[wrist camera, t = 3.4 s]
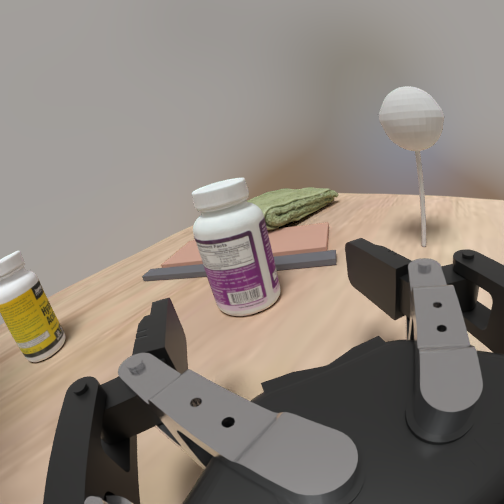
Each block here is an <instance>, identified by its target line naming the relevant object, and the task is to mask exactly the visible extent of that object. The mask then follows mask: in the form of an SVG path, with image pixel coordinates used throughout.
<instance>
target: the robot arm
mask: <svg viewBox="0 0 504 504" xmlns="http://www.w3.org/2000/svg"><path fill="white" fill-rule="evenodd" d="M345 252H346V261H347V271H348V277H349V280H350V283H351V284H352V286H353V287H354V288H356V289H357V290H358V291H359V292H361V293H362V294H363V295H364V296H366V297H367V298H368V299H369V300H371V301H372V302H373V303H374V304H375V305H377V306H378V307H379V308H380V309H381V310H383V311H384V312H385V313H386V314H388V315H389V316H390V317H391V318H392V319H394V320H397V319H399V318H401V317H403V316H405V315H406V340H396V341H390V342H385V341H384V340H383V339H381V338H380V337H379V336H377V337H375V338H373V339H371V340H369V341H367V342H364V343H362V344H360V345H358V346H356V347H353V348H352V349H351V350H349V351H348V352H346V353H345V354H343V355H342V356H341V357H339V358H338V359H336V360H335V361H333V362H332V363H330V364H329V365H326V366H323V367H318V368H313V369H308V370H302V371H297V372H292V373H289V374H286V375H283V376H281V377H278V378H275V379H272V380H269V381H266V382H263V383H261V385H262V388H263V391H264V392H263V393H262V394H260V395H258V396H257V397H255V398H254V399H252V400H251V401H248V400H246V399H244V398H242V397H240V396H238V395H236V394H234V393H232V392H230V391H228V390H227V389H225V388H223V387H221V386H219V385H217V384H215V383H213V382H212V381H210V380H208V379H206V378H204V377H202V376H201V375H199V374H197V373H195V372H194V371H192V370H189V369H188V362H187V345H186V337H185V334H184V331H183V328H182V325H181V323H180V321H179V318H178V316H177V314H176V311H175V309H174V306H173V304H172V301H171V300H170V298H166V299H162V300H159V301H156V302H153V303H152V308H151V313H150V315H148V316H144V318H143V319H142V320H141V322H140V323H139V325H138V329H137V334H136V339H135V344H134V348H133V354H132V356H130V357H129V358H127V359H126V360H125V361H124V362H123V363H122V364H121V365H120V367H119V369H118V375H119V377H117V378H115V379H113V380H111V381H109V382H106V383H104V384H102V385H100V384H99V382H98V381H97V380H96V379H95V378H94V377H83V378H81V379H78V380H77V381H75V382H74V383H73V384H72V385H71V386H70V387H69V388H68V390H67V392H66V395H65V398H64V402H63V405H62V409H61V413H60V416H59V420H58V424H57V428H56V433H55V437H54V441H53V446H52V451H51V456H50V461H49V467H48V472H47V479H46V485H45V493H44V501H43V504H140V497H139V484H138V466H137V434H139V433H141V432H143V431H145V430H148V429H150V428H152V427H154V426H155V427H156V428H157V429H158V430H159V431H160V432H162V433H163V434H164V435H165V436H166V437H167V438H168V439H170V440H171V441H172V442H173V443H174V444H175V445H177V446H178V447H179V448H180V449H181V450H183V451H184V452H185V453H186V454H187V455H188V456H190V457H191V458H192V459H193V460H194V461H195V462H196V463H197V464H198V465H199V466H200V467H201V468H203V469H204V471H203V473H202V475H201V476H200V478H199V479H198V481H197V482H196V484H195V486H194V487H193V489H192V490H191V492H190V493H189V495H188V496H187V498H186V499H185V501H184V502H183V504H504V265H502V264H500V263H498V262H496V261H494V260H492V259H490V258H488V257H486V256H484V255H482V254H480V253H478V252H476V251H473V250H459V251H457V252H455V253H454V255H453V264H450V265H446V266H442V267H441V265H440V264H439V263H438V262H437V261H435V260H432V259H416V260H414V261H411V260H409V259H407V258H405V257H403V256H401V255H399V254H397V253H395V252H393V251H391V250H390V249H388V248H386V247H384V246H379V245H375V244H373V243H371V242H369V241H367V240H365V239H363V238H359V239H356V240H353V241H350V242H347V243H346V245H345ZM479 287H481V288H483V289H484V290H486V291H487V292H489V293H490V295H491V296H492V299H493V304H492V309H491V310H490V309H488V308H487V307H485V306H484V305H482V304H481V303H479V302H478V301H477V296H478V290H479ZM467 331H468V332H469V333H471V334H472V335H473V336H474V337H475V338H477V339H478V340H479V341H480V342H482V343H483V344H484V345H485V346H486V347H488V348H489V349H490V350H491V351H492V352H493V353H491V352H484V351H476V349H475V347H474V346H471V345H470V342H469V338H468V334H467Z"/></svg>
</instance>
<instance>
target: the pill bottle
mask: <svg viewBox="0 0 504 504" xmlns="http://www.w3.org/2000/svg"><path fill="white" fill-rule="evenodd" d="M248 193H249V192H248V188H247V185H246V181H245V179H244V178H234V179H228V180H224V181H220V182H216V183H213V184H210V185H207V186H204V187H201V188H199V189H197V190H195V191H193V192H192V198H193V202H194V207H195V208H196V209H197V211H198V212H201V216H199V217H198V219H197V220H196V221H195V223H194V226H193V233H194V238H195V241H196V243H197V246H198V250H199V253H200V256H201V259H202V262H203V265H204V269H205V272H206V275H207V278H208V281H209V284H210V286H211V289H212V292H213V295H214V297H215V300H216V303H217V305H218V307H219V309H220V310H221V311H223V312H224V313H226V314H228V315H232V316H246V315H251V314H255V313H257V312H260V311H262V310H264V309H266V308H268V307H270V306H271V305H272V304H274V303H275V302H276V300H277V299H278V297H279V295H280V284H279V279H278V275H277V270H276V266H275V261H274V257H273V253H272V249H271V244H270V240H269V236H268V231H267V227H266V223H265V218H264V215H263V212H262V211H261V209H260V208H259V207H258V206H257V205H255V204H253V203H250V202H247V200H246V199H247V198H248Z"/></svg>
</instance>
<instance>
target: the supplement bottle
mask: <svg viewBox="0 0 504 504" xmlns="http://www.w3.org/2000/svg"><path fill="white" fill-rule="evenodd" d="M24 265H25V263H24V259H23V257H22V254H21V252H20V251H16V252H14V253H12V254H10V255H8V256H6V257H4V258H2V259H0V313H1V315H2V317H3V319H4V321H5V323H6V325H7V327H8V329H9V330H10V332H11V334H12V336H13V338H14V339H15V341H16V343H17V345H18V346H19V348H20V350H21V351H22V353H23V354H24V356H25V357H26V359H27V360H28V361H31V362H39V361H42V360H45V359H47V358H48V357H50V356H52V355H53V354H54V353H56V352H57V351H58V350H59V349H60V348H61V347H62V345H63V344H64V342H65V333H64V331H63V329H62V327H61V325H60V323H59V321H58V319H57V317H56V315H55V313H54V311H53V309H52V307H51V305H50V303H49V301H48V299H47V297H46V295H45V293H44V291H43V289H42V286H41V284H40V282H39V279H38V277H37V276H36V274H35V273H34V272H32V271H26V270H25V268H24Z"/></svg>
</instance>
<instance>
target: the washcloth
mask: <svg viewBox="0 0 504 504" xmlns="http://www.w3.org/2000/svg"><path fill="white" fill-rule="evenodd" d="M337 196H338V193H337V192H335V191H333V190H330V189H321V188H311V187H310V188H303V189H300V190H299V189H294V190H292V189H280V190H276V191H271V192H267V193H265V194H263V195H260V196H258V197H255V198H252V199H251V200H248V201H247V202H250V203H253V204H255V205H257V206H258V207H259V208H260V209H261V211H262V212H263V215H264V218H265V223H266V227H267V231H269V230H274V229H276V228H278V227H280V226H284V225H285V224H286V223H287V224H288V222H291V221H298V220H300V219H301V218H303V217H305V216H306V215H308V214H311V213H313V212H315V211H317V210H319V209H320V208H322V207H324V206H326V205H327V203H330V202H332V201H334V197H337Z"/></svg>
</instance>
